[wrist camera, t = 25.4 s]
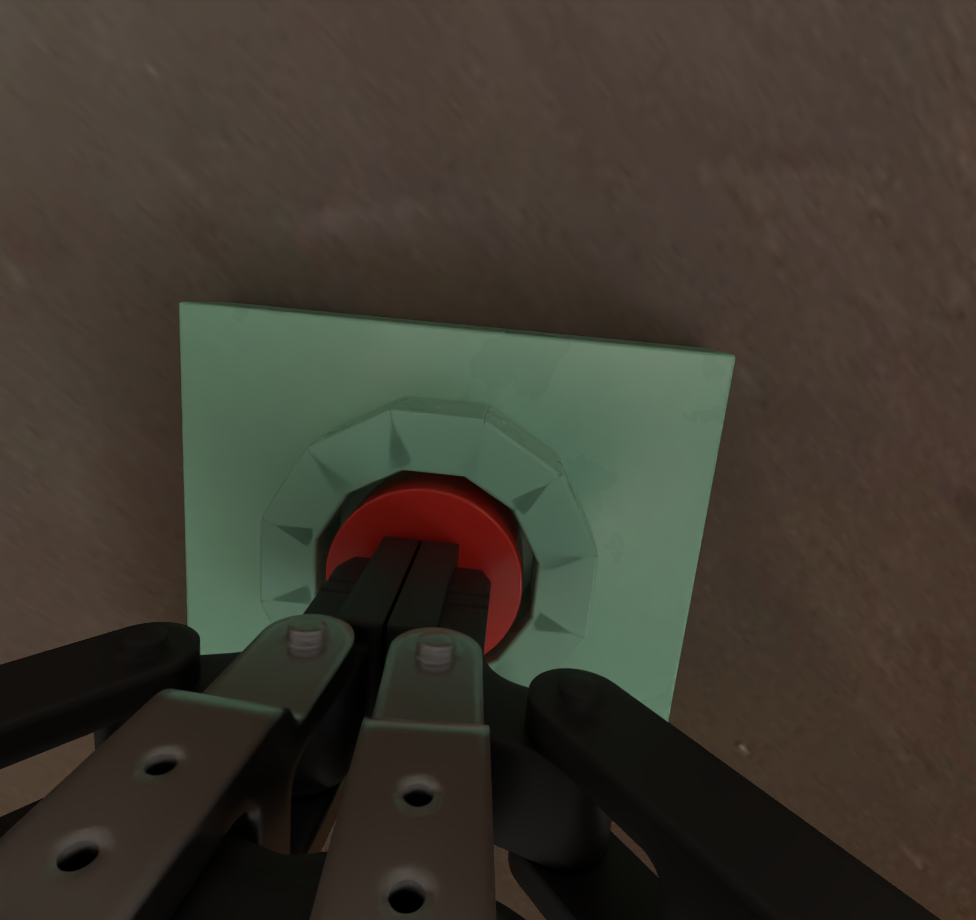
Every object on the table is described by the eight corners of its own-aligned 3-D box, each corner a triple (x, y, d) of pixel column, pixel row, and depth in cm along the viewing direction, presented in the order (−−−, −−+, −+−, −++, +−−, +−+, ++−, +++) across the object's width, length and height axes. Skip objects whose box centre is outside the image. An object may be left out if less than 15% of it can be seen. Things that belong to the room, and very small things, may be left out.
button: (531, 475, 14) (532, 500, 12) (513, 640, 15) (512, 683, 13) (351, 457, 14) (327, 478, 12) (345, 620, 15) (321, 661, 13)
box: (708, 348, 15) (770, 362, 12) (645, 706, 18) (679, 818, 14) (224, 301, 16) (126, 300, 12) (227, 658, 18) (147, 753, 14)
